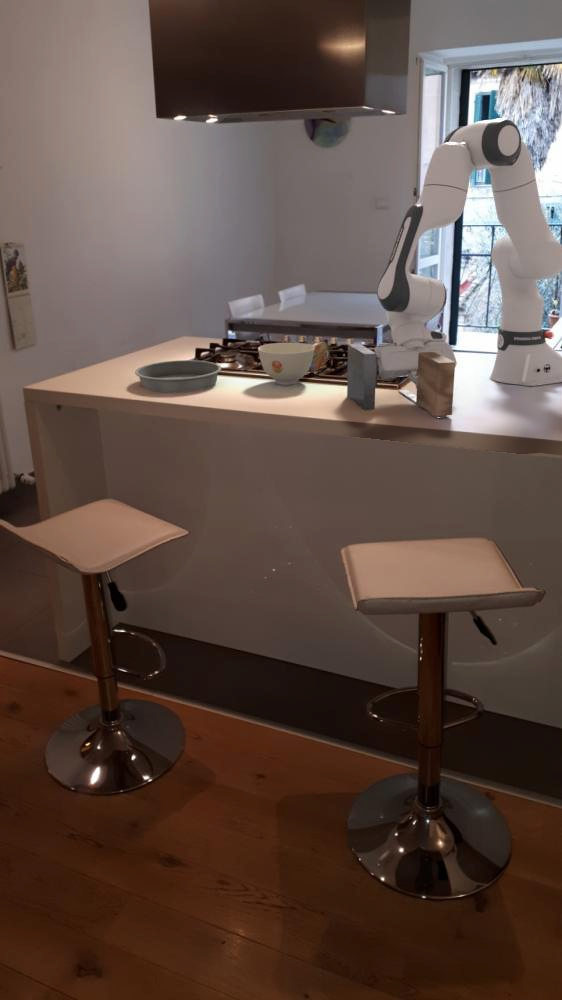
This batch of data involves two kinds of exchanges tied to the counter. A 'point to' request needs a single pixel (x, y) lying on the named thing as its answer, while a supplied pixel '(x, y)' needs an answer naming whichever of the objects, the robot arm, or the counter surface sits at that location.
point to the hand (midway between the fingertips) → (423, 388)
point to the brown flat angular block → (435, 383)
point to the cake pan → (178, 375)
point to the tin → (319, 356)
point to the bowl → (286, 361)
